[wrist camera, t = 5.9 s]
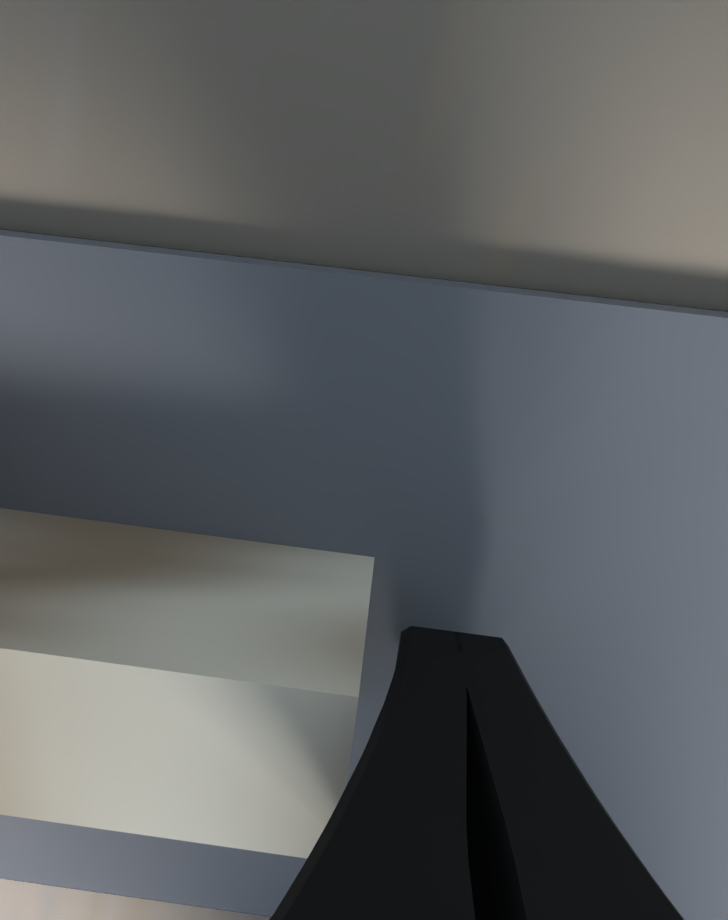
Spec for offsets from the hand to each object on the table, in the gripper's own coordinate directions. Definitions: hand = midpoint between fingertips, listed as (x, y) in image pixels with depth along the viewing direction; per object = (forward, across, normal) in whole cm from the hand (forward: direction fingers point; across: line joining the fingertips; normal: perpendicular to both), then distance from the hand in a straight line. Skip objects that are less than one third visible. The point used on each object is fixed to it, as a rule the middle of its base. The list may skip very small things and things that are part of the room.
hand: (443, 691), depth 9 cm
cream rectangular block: (+1, +7, 0) cm, 7 cm away
